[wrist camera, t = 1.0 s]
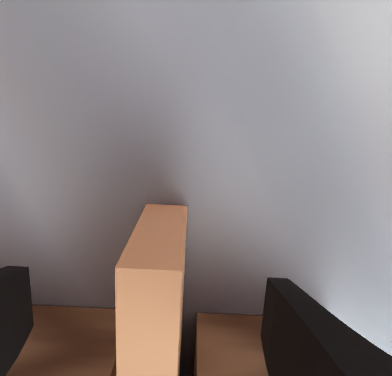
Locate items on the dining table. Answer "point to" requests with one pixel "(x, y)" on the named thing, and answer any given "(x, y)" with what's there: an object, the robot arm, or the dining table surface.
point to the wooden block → (106, 344)
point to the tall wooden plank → (151, 294)
